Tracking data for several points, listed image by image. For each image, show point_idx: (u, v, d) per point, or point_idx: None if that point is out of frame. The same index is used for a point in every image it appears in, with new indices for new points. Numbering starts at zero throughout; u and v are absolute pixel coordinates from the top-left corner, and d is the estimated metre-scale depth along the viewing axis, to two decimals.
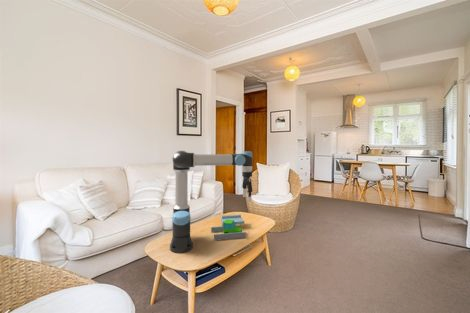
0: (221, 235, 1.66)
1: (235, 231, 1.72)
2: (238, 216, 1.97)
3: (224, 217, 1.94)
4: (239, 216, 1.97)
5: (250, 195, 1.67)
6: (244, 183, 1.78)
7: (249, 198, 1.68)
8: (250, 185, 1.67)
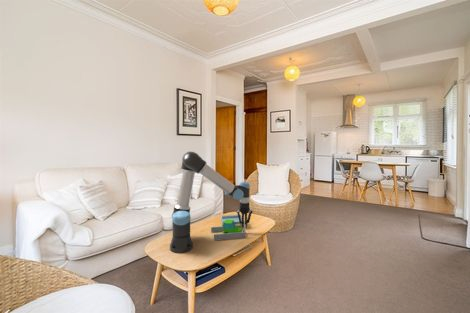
0: (221, 235, 1.66)
1: (235, 231, 1.72)
2: None
3: (224, 217, 1.94)
4: None
5: (242, 226, 1.77)
6: None
7: (243, 229, 1.78)
8: (238, 217, 1.77)
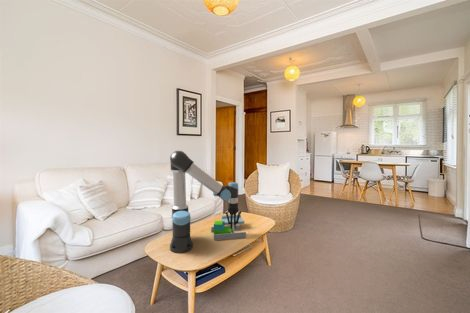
0: (221, 235, 1.66)
1: (226, 232, 1.69)
2: None
3: (224, 217, 1.94)
4: None
5: (230, 227, 1.75)
6: None
7: (232, 230, 1.76)
8: (227, 218, 1.75)
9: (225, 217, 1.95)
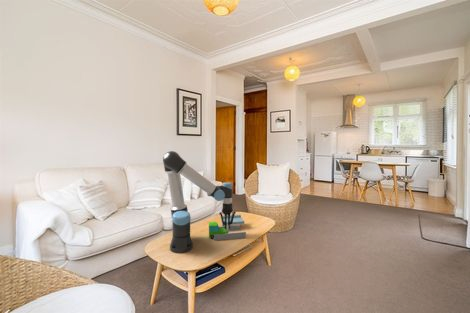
0: (221, 235, 1.66)
1: (221, 233, 1.68)
2: (238, 216, 1.97)
3: (224, 217, 1.94)
4: (239, 216, 1.97)
5: None
6: None
7: (226, 230, 1.75)
8: (221, 218, 1.73)
9: None
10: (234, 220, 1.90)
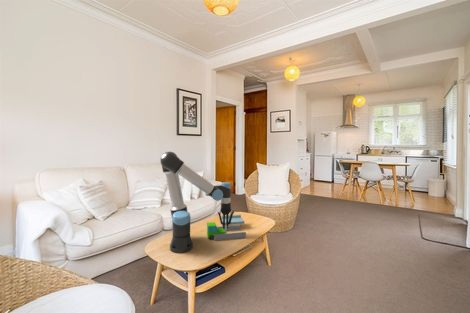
0: (221, 235, 1.66)
1: (220, 233, 1.68)
2: (238, 216, 1.97)
3: None
4: (239, 216, 1.97)
5: (223, 227, 1.74)
6: (226, 215, 1.76)
7: None
8: None
9: (225, 217, 1.95)
10: (234, 220, 1.90)
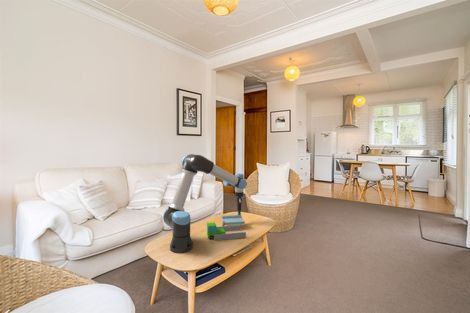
0: (221, 235, 1.66)
1: (220, 233, 1.68)
2: (239, 216, 1.97)
3: (224, 217, 1.94)
4: (240, 216, 1.97)
5: (239, 213, 1.98)
6: (237, 203, 1.99)
7: None
8: (240, 206, 1.94)
9: (225, 217, 1.94)
10: (234, 220, 1.89)
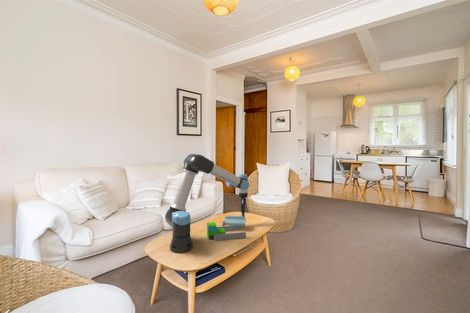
0: (221, 235, 1.66)
1: (220, 233, 1.68)
2: (242, 218, 1.93)
3: (228, 217, 1.94)
4: (243, 218, 1.93)
5: (243, 215, 1.94)
6: None
7: None
8: (242, 207, 1.90)
9: (229, 217, 1.94)
10: (236, 221, 1.87)
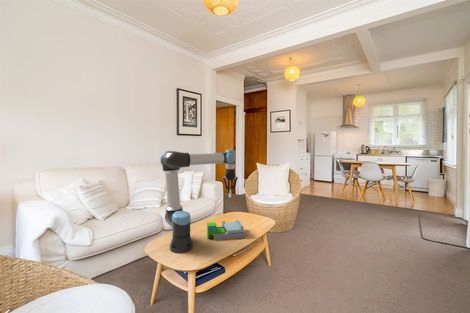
0: (221, 235, 1.66)
1: (220, 233, 1.68)
2: (240, 226, 1.72)
3: (236, 221, 1.84)
4: (240, 227, 1.71)
5: None
6: None
7: (229, 194, 1.87)
8: None
9: (236, 222, 1.83)
10: (230, 226, 1.75)
